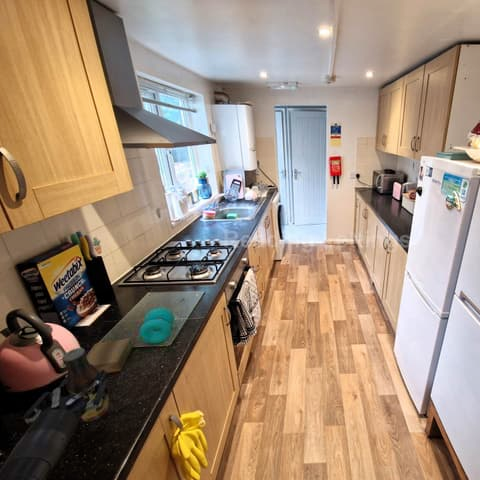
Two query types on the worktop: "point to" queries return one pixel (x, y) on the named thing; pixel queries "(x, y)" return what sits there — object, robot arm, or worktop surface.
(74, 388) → the sauce bottle
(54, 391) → the robot arm
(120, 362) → the oak block
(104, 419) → the worktop surface
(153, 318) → the donuts
